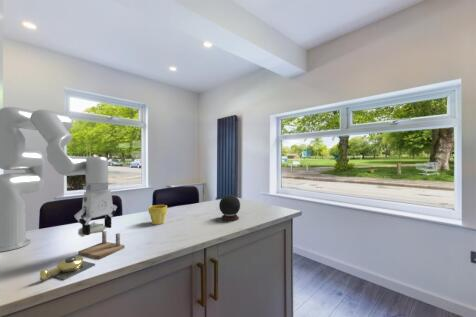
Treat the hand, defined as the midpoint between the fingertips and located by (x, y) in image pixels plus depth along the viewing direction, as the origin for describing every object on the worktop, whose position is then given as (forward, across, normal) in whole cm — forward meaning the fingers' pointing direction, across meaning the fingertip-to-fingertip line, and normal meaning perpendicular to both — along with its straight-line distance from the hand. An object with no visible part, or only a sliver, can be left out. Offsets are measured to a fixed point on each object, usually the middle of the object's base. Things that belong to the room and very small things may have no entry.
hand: (97, 230), depth 87 cm
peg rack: (+9, +2, 0) cm, 9 cm away
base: (+9, -12, -4) cm, 16 cm away
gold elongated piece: (+8, -15, -4) cm, 17 cm away
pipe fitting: (+2, 0, +2) cm, 3 cm away
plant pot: (+9, +42, +6) cm, 43 cm away
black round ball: (+9, +64, -30) cm, 72 cm away
